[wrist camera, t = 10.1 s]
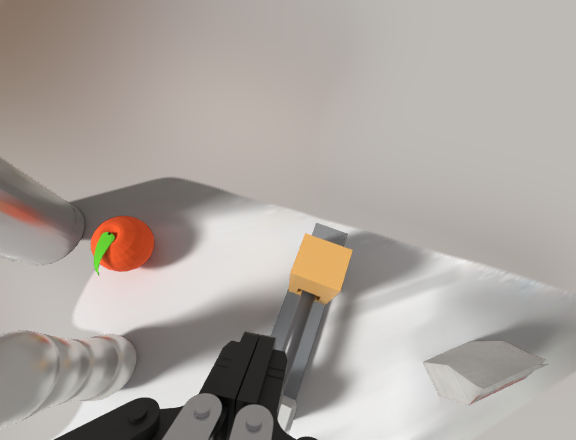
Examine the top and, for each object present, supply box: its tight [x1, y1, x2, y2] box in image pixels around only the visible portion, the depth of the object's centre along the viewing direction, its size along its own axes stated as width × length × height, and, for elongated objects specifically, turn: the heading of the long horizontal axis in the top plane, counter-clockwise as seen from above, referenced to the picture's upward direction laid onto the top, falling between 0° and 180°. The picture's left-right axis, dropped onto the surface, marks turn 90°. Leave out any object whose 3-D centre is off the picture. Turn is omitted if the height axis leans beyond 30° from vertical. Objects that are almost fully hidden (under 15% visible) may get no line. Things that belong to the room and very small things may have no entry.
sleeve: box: [288, 233, 353, 305], centre depth 31 cm, size 4×5×10 cm
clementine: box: [91, 216, 154, 275], centre depth 36 cm, size 8×7×7 cm
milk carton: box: [423, 341, 548, 405], centre depth 30 cm, size 4×7×10 cm, turn 110°
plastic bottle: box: [0, 330, 137, 429], centre depth 25 cm, size 6×7×20 cm
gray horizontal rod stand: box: [271, 223, 348, 435], centre depth 32 cm, size 20×5×9 cm, turn 159°
